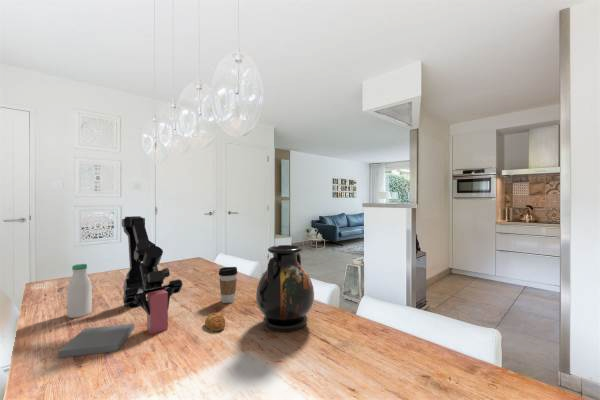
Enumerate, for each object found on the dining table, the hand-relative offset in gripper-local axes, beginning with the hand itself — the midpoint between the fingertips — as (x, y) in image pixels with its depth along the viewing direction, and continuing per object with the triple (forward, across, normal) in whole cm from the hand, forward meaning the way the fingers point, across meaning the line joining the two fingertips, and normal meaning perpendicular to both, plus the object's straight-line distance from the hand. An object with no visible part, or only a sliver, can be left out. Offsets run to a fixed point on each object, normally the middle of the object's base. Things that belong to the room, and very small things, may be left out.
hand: (158, 312), depth 96 cm
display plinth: (+2, -16, +8) cm, 18 cm away
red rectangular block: (+4, 0, +6) cm, 7 cm away
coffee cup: (-3, +32, +13) cm, 35 cm away
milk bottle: (-22, -20, +31) cm, 43 cm away
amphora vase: (+22, +37, -13) cm, 45 cm away
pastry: (+12, +17, -2) cm, 21 cm away
